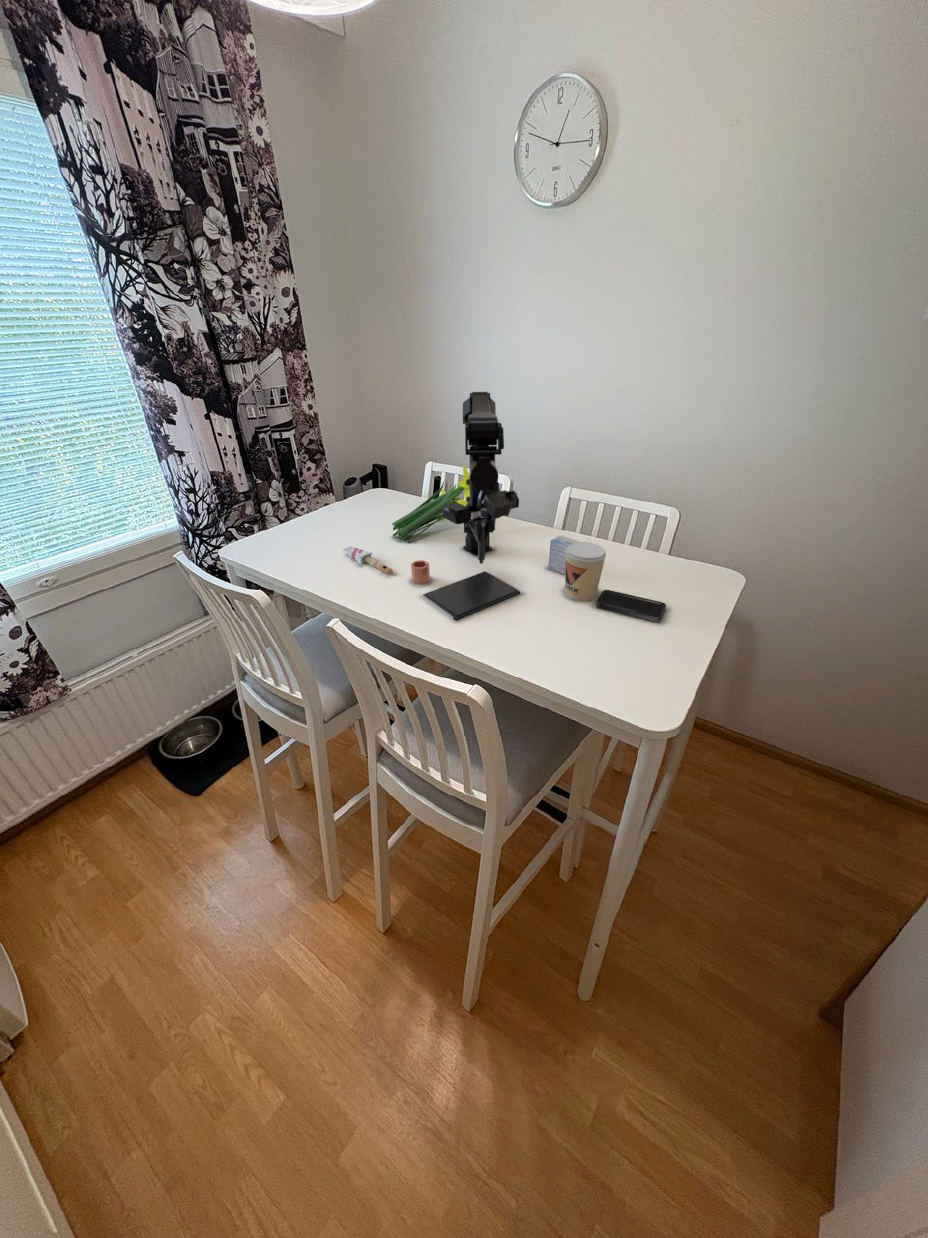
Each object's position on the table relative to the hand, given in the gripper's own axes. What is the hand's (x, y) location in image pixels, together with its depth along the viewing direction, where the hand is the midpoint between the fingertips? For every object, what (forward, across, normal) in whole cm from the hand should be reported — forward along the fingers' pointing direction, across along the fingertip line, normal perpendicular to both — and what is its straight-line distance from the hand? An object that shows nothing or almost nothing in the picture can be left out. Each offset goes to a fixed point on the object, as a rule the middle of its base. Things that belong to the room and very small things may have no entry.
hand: (481, 540), depth 119 cm
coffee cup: (+13, +18, -18) cm, 28 cm away
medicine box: (+13, +24, -6) cm, 28 cm away
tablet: (+13, -4, -2) cm, 14 cm away
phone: (+13, +22, -30) cm, 39 cm away
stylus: (+6, 0, 0) cm, 6 cm away
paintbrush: (+13, -17, +30) cm, 37 cm away
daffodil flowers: (+13, +13, +38) cm, 43 cm away
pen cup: (+13, -10, +12) cm, 21 cm away
